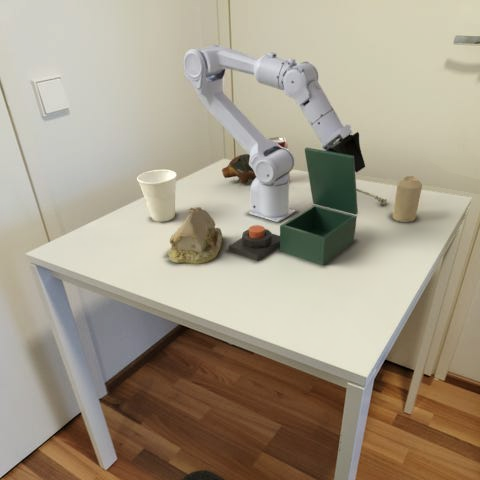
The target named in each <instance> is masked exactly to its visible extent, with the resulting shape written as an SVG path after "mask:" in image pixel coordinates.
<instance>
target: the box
mask: <svg viewBox="0 0 480 480" xmlns="http://www.w3.org/2000/svg"><path fill="white" fill-rule="evenodd" d="M357 218H358V215H355V214H351V213H347V212H343V211H339V210H335V209H331V208H328V207H324V206H320V205H316V204H313V205H311V206H310V207H307V208H306V209H305V210H303V211H302V212H300V213H298V214H296V215H295V216H293V217H291V218H290V219H288V220H287V221H285V222H284V223H282V224H280V225H279V236H280V246H279V252H281V253H284V254H287V255H290V256H293V257H295V258H299V259H302V260H305V261H308V262H311V263H314V264H317V265H319V266H323V267H324V265H326V264H327V263H328V262H329V261H330V260H332V259H333V258H334V257H336V256H337V255H338V254H340V253H341V252H342V251H343V250H344V249H346V248H347V247H349V246H350V245H351V244H352V243H354V241H355V235H356V225H357Z"/></svg>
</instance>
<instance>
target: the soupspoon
mask: <svg viewBox="0 0 480 480" xmlns="http://www.w3.org/2000/svg"><path fill="white" fill-rule="evenodd" d="M356 192H359V193H362V194H364V195H367V196H369V197H372V198H374V200H377V201H378V202H379V203H381V205H382V206H384V205H386V203H387V202H388V201H387V198H382V197H380V196H378V195H375V194H372V193H371V192H367V191H365V190H363V189H359V188H357V187H356Z"/></svg>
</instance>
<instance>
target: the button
mask: <svg viewBox="0 0 480 480" xmlns="http://www.w3.org/2000/svg"><path fill="white" fill-rule="evenodd" d="M248 229H249V237H250V238H254V239H259V238H263V237H265V229H266V228H265V227H264V226H263V225H259V224H257V225H256V224H255V225H251V226H249V228H248Z"/></svg>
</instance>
